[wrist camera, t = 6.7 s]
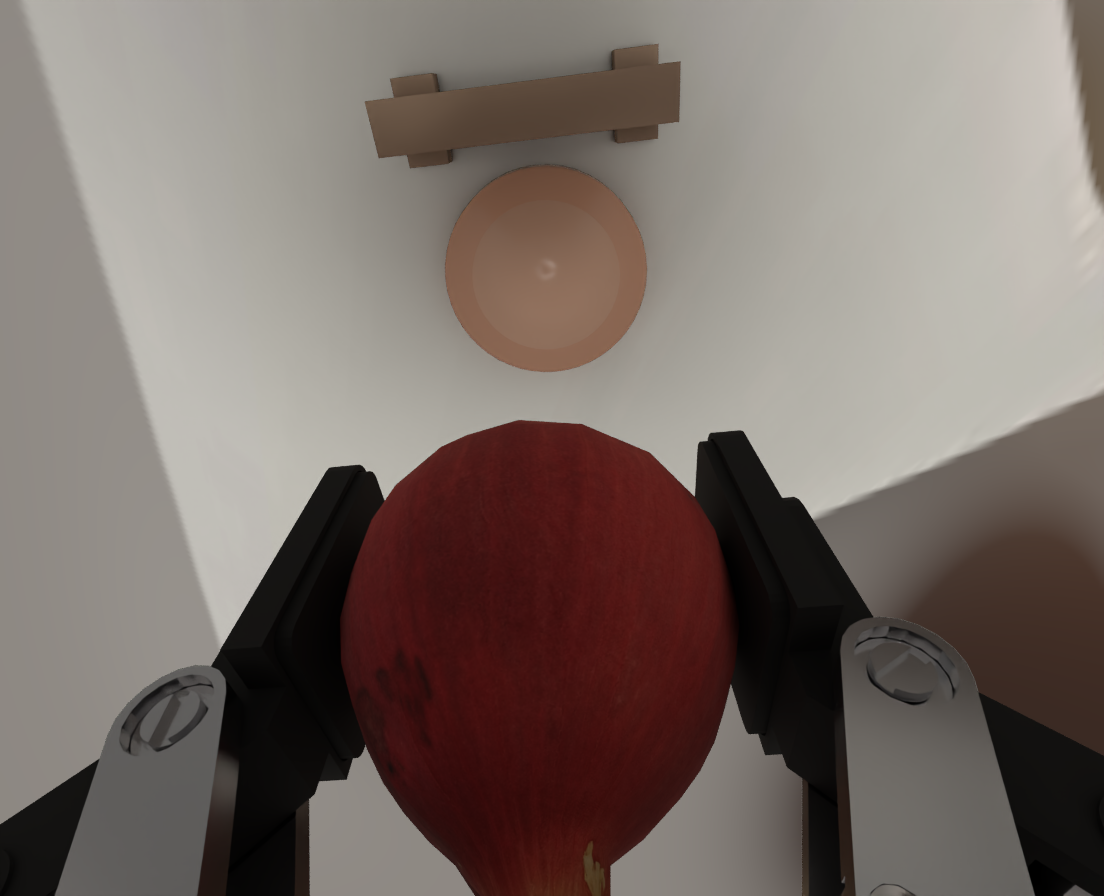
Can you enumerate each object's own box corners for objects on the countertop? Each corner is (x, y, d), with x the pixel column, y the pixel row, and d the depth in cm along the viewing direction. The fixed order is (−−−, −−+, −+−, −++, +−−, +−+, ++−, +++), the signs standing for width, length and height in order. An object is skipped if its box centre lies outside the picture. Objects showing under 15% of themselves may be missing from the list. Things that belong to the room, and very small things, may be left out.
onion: (483, 590, 14) (421, 1069, 7) (351, 408, 11) (19, 934, 4) (707, 521, 12) (896, 1022, 6) (627, 294, 9) (823, 777, 3)
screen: (396, 79, 21) (357, 75, 17) (653, 46, 20) (681, 32, 16) (415, 165, 22) (384, 180, 18) (653, 136, 22) (678, 146, 18)
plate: (429, 177, 23) (424, 181, 22) (641, 152, 22) (646, 154, 21) (469, 369, 28) (466, 380, 27) (643, 352, 27) (647, 362, 26)
